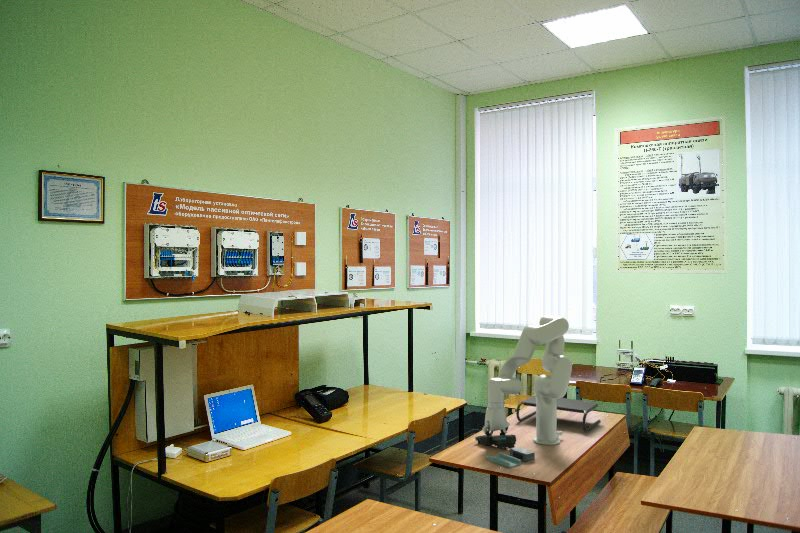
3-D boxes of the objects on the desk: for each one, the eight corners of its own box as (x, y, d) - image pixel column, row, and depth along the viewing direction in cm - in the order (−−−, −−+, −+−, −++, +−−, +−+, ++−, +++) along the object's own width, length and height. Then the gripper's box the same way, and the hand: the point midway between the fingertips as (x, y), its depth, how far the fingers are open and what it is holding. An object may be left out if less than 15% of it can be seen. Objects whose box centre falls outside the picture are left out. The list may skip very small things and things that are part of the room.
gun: (515, 452, 255) (508, 430, 257) (480, 458, 268) (474, 437, 270) (520, 450, 258) (513, 428, 261) (485, 456, 271) (479, 435, 273)
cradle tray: (499, 456, 251) (499, 452, 251) (520, 464, 240) (520, 460, 240) (486, 459, 247) (486, 455, 247) (508, 468, 236) (508, 463, 236)
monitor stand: (600, 422, 309) (600, 402, 309) (585, 434, 286) (584, 412, 286) (535, 413, 330) (535, 394, 330) (515, 423, 307) (515, 403, 307)
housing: (517, 454, 254) (517, 446, 254) (534, 460, 245) (534, 452, 246) (508, 456, 251) (508, 448, 251) (525, 462, 242) (525, 454, 242)
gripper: (504, 401, 272) (504, 438, 272) (476, 406, 263) (476, 444, 262) (515, 404, 266) (515, 442, 266) (487, 409, 256) (487, 448, 256)
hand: (496, 443), depth 264 cm, fingers open, 7 cm apart
